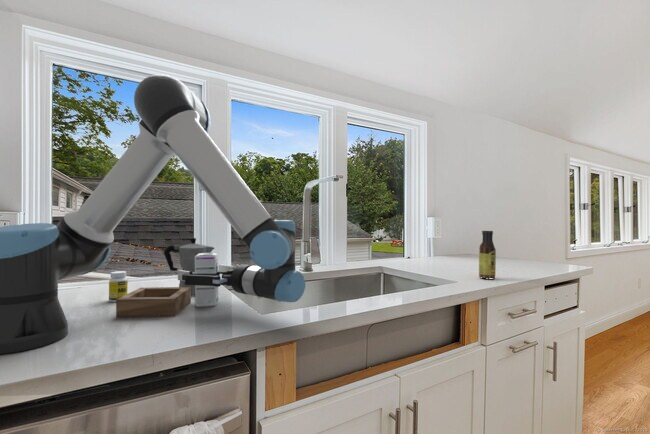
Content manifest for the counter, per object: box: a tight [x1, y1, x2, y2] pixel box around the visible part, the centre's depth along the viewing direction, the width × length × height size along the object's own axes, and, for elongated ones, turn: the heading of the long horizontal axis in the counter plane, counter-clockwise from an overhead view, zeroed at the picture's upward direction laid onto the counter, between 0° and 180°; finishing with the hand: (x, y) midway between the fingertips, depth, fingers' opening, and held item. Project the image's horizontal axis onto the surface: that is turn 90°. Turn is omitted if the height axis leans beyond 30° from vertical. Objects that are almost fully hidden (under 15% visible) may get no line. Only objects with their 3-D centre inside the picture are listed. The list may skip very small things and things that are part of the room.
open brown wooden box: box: [115, 286, 192, 319], centre depth 94 cm, size 14×14×4 cm
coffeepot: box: [163, 237, 215, 296], centre depth 114 cm, size 15×9×18 cm, turn 108°
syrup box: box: [194, 252, 219, 308], centre depth 100 cm, size 6×6×14 cm
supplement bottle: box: [108, 270, 129, 303], centre depth 103 cm, size 5×5×8 cm
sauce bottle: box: [478, 230, 497, 279], centre depth 144 cm, size 6×6×20 cm
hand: (200, 271), depth 102 cm, fingers open, 13 cm apart
